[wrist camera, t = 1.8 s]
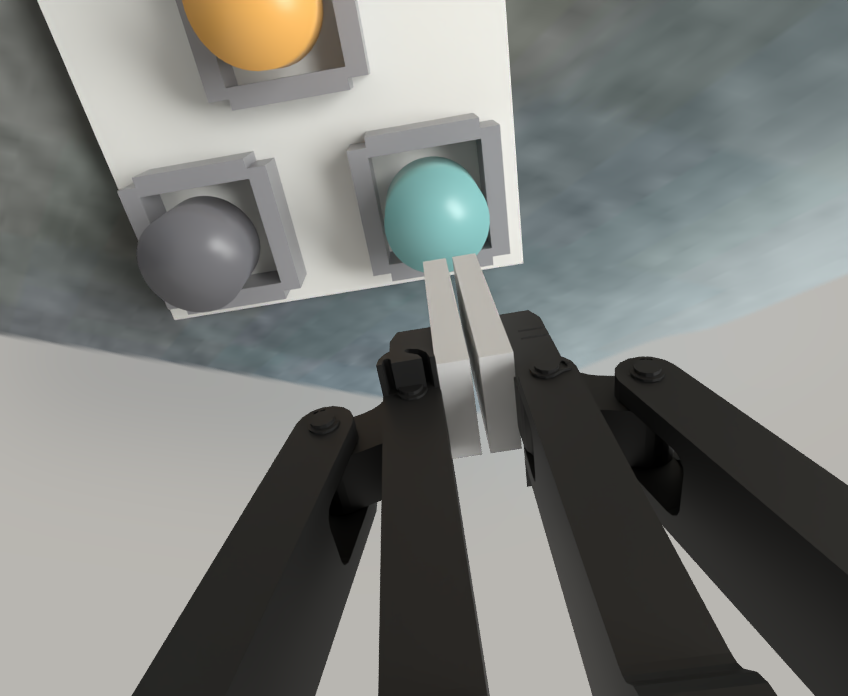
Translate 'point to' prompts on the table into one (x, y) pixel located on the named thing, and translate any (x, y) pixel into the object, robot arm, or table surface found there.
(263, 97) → the panel
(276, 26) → the orange button
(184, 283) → the charcoal button
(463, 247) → the teal button
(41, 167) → the table surface
